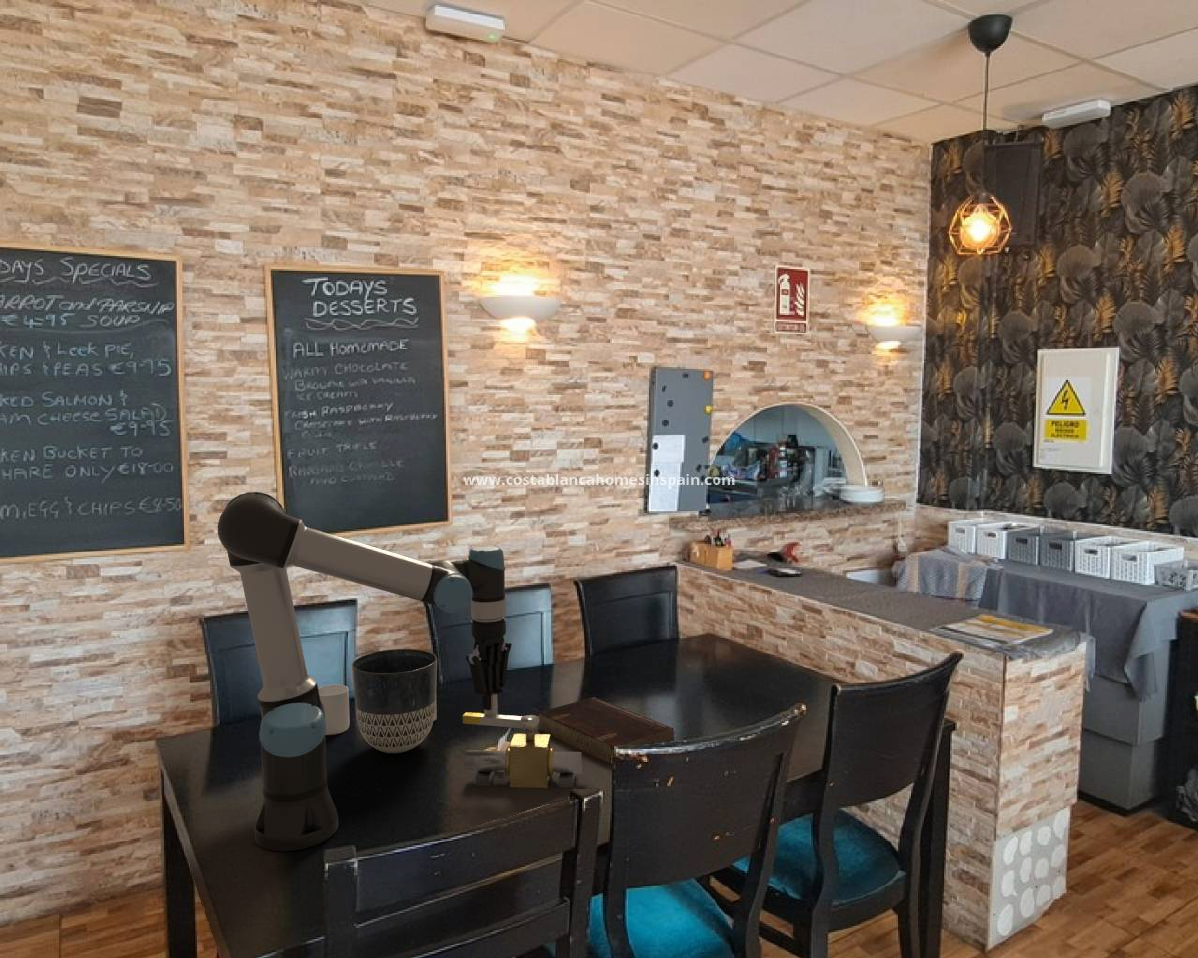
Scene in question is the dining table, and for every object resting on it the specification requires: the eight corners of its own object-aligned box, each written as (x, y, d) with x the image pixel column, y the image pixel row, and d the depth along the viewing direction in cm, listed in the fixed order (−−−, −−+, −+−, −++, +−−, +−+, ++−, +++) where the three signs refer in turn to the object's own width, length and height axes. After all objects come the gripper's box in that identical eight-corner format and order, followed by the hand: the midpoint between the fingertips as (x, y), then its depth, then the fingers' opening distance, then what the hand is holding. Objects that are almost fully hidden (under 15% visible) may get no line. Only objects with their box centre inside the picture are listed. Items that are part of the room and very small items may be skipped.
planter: (339, 748, 205) (336, 660, 203) (410, 726, 219) (408, 644, 217) (382, 773, 191) (379, 679, 189) (455, 748, 205) (453, 660, 203)
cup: (321, 737, 212) (319, 697, 211) (306, 723, 221) (305, 684, 221) (354, 730, 216) (353, 691, 215) (338, 716, 226) (337, 678, 225)
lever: (541, 724, 188) (541, 715, 187) (536, 731, 184) (536, 722, 184) (467, 718, 191) (467, 710, 191) (461, 725, 187) (461, 716, 187)
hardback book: (673, 746, 207) (674, 726, 206) (615, 768, 194) (615, 747, 194) (595, 713, 228) (595, 695, 228) (538, 731, 216) (538, 712, 216)
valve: (580, 788, 183) (579, 735, 182) (463, 786, 184) (462, 734, 183) (582, 774, 190) (582, 723, 189) (470, 772, 191) (469, 721, 190)
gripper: (494, 609, 195) (496, 709, 198) (455, 622, 185) (458, 728, 187) (520, 613, 191) (522, 716, 194) (482, 626, 181) (485, 735, 183)
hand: (491, 722), depth 190 cm, fingers closed
